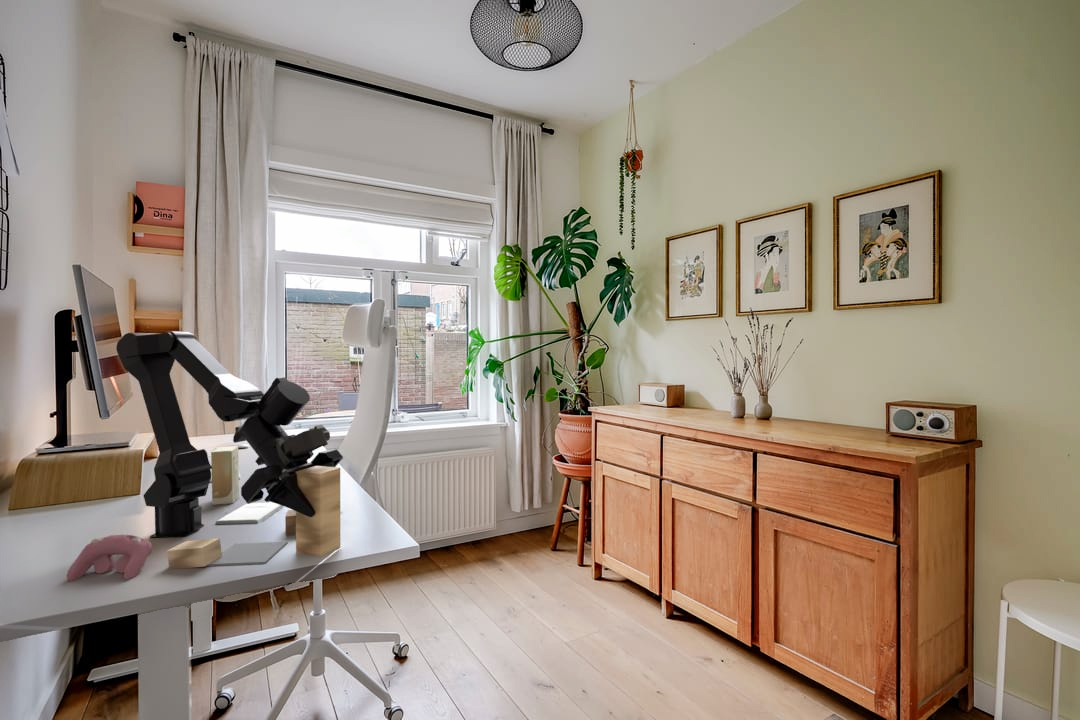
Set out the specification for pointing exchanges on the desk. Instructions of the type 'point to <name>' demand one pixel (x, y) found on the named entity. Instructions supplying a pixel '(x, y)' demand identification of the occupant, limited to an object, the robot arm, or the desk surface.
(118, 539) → the video game controller
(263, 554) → the felt pad
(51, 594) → the desk surface
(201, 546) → the pale wooden block
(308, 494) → the oak pillar
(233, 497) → the skincare box
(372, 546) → the desk surface
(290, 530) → the walnut block
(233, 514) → the external hard drive
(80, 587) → the desk surface
